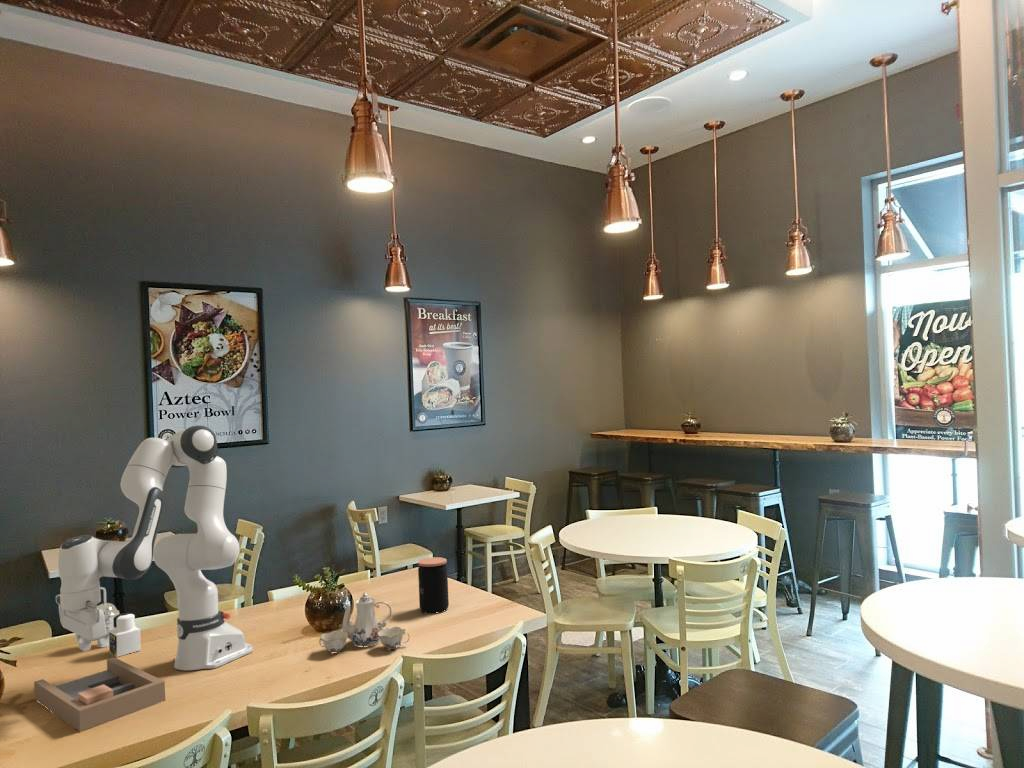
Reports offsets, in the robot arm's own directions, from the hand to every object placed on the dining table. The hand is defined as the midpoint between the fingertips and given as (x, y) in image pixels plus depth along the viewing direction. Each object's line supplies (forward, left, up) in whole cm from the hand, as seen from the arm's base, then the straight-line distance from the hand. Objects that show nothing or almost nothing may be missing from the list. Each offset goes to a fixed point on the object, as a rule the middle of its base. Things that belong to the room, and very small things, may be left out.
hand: (85, 649), depth 176 cm
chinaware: (-68, +32, -15) cm, 76 cm away
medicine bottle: (-23, -33, -14) cm, 43 cm away
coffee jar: (-106, +25, -14) cm, 110 cm away
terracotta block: (+2, +12, -12) cm, 17 cm away
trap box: (-3, 0, -14) cm, 14 cm away
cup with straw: (-22, -46, -14) cm, 53 cm away
